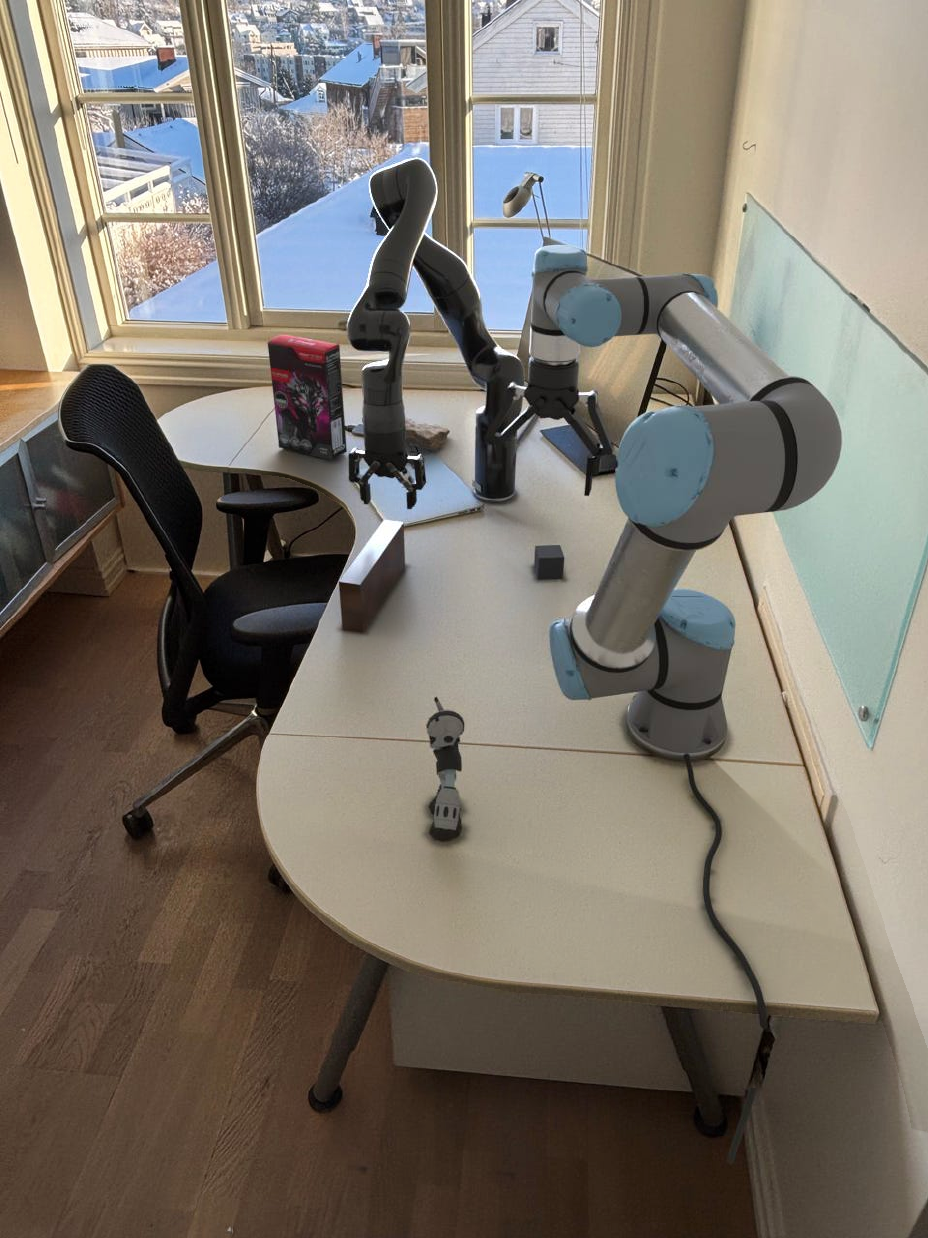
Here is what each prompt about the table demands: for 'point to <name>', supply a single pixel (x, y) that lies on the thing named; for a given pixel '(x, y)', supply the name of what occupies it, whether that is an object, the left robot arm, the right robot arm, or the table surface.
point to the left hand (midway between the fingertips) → (388, 505)
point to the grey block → (549, 562)
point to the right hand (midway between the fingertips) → (546, 487)
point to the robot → (446, 772)
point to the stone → (425, 434)
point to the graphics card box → (308, 395)
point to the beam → (372, 576)
